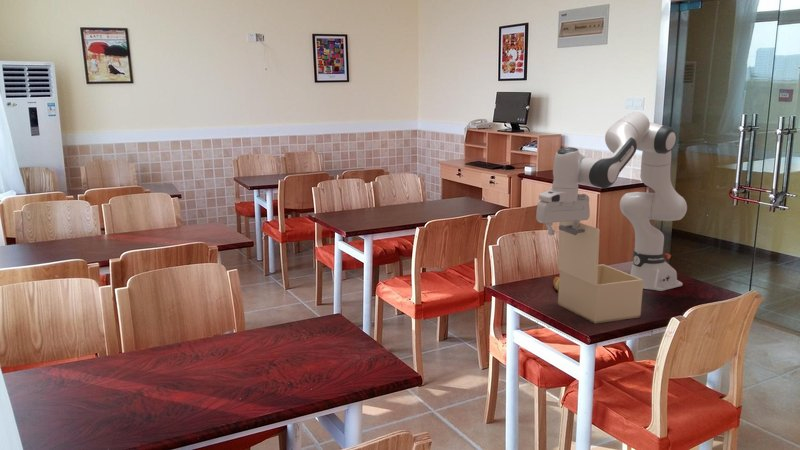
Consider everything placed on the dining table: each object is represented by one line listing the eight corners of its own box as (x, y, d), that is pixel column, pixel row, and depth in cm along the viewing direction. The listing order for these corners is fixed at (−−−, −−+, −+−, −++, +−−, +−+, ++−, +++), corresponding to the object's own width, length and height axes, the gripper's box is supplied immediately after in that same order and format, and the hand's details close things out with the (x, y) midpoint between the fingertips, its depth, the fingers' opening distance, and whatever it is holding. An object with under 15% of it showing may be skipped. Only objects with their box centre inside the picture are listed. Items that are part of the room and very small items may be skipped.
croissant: (585, 307, 257) (595, 289, 256) (566, 297, 253) (576, 279, 253) (559, 290, 277) (568, 273, 276) (541, 281, 273) (550, 264, 273)
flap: (561, 217, 242) (547, 218, 240) (599, 229, 222) (585, 230, 220) (559, 269, 246) (546, 271, 244) (597, 285, 226) (583, 287, 224)
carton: (600, 298, 256) (603, 264, 253) (640, 317, 236) (643, 279, 233) (557, 304, 249) (560, 268, 246) (594, 323, 229) (597, 285, 226)
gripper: (583, 192, 233) (581, 230, 236) (534, 194, 226) (532, 234, 229) (595, 194, 228) (592, 233, 231) (545, 197, 220) (542, 237, 223)
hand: (562, 233), depth 230 cm, fingers open, 8 cm apart
